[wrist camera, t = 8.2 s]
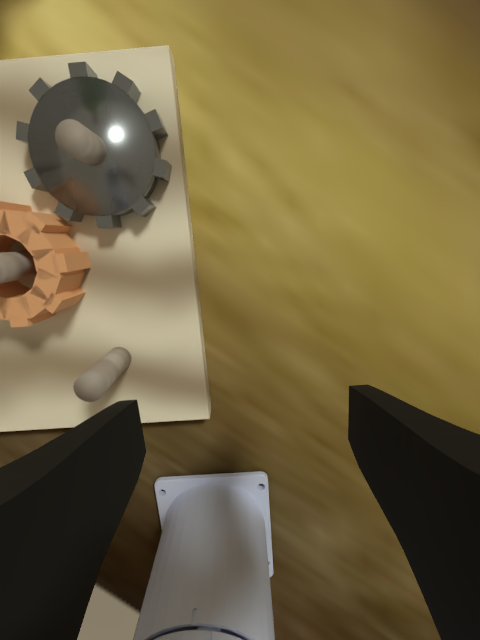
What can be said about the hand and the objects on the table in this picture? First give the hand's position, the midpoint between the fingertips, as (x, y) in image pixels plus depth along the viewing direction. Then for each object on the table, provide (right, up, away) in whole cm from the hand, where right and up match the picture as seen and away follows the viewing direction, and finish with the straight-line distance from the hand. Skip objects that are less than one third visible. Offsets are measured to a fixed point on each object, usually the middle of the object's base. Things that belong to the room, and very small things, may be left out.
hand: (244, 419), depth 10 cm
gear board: (-12, +6, +8) cm, 16 cm away
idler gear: (-12, +6, +7) cm, 15 cm away
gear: (-7, +12, +5) cm, 15 cm away
